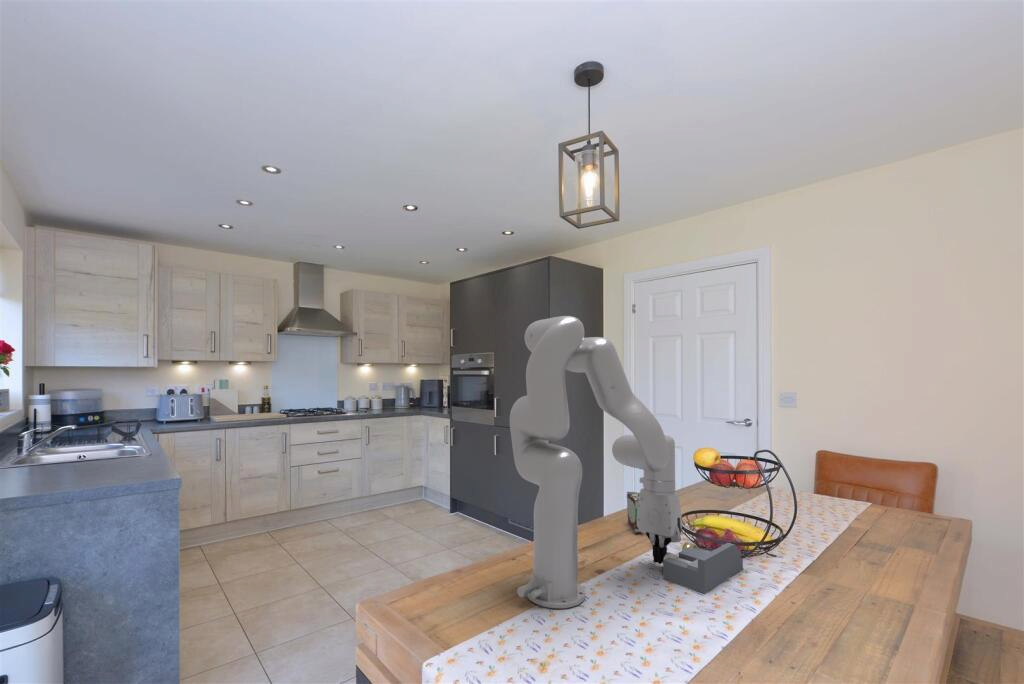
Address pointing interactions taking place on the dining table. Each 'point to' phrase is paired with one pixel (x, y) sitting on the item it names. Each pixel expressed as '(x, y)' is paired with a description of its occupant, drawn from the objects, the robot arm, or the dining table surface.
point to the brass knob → (687, 545)
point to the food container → (633, 511)
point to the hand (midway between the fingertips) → (659, 561)
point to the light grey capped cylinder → (675, 557)
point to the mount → (703, 567)
